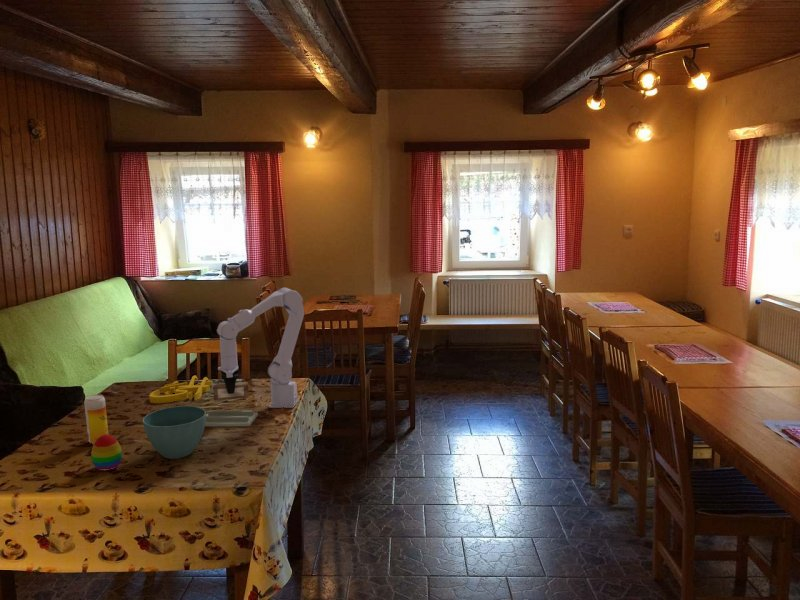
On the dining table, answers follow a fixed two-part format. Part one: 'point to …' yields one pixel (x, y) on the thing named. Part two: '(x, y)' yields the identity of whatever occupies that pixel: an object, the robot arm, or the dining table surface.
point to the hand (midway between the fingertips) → (231, 391)
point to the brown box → (222, 394)
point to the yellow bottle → (95, 417)
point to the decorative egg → (106, 452)
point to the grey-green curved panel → (230, 418)
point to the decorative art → (181, 391)
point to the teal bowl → (175, 430)
